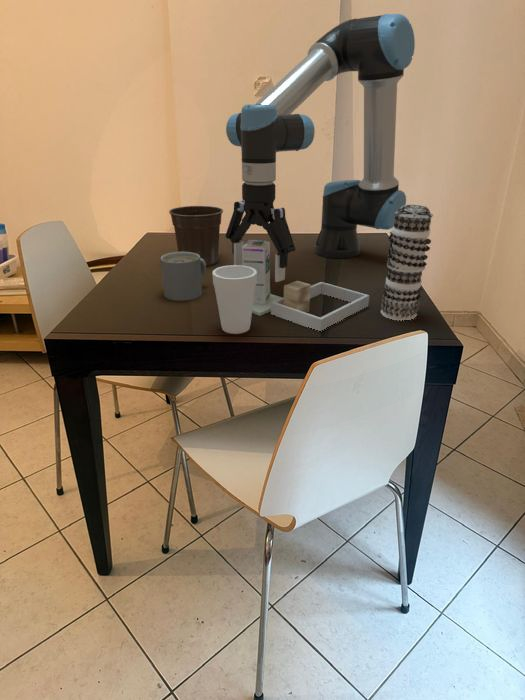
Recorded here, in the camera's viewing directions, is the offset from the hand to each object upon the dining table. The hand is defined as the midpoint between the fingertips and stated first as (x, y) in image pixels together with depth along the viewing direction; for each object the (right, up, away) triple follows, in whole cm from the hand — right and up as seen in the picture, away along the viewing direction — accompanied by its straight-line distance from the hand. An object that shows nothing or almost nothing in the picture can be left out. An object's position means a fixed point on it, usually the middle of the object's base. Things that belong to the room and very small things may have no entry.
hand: (258, 274), depth 113 cm
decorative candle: (+34, -10, -2) cm, 35 cm away
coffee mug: (-19, -3, +10) cm, 22 cm away
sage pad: (0, -7, +4) cm, 8 cm away
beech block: (+9, -9, -1) cm, 13 cm away
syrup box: (0, -6, +4) cm, 7 cm away
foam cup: (-5, -14, -9) cm, 17 cm away
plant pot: (-19, +9, +35) cm, 41 cm away
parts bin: (+15, -9, 0) cm, 17 cm away
